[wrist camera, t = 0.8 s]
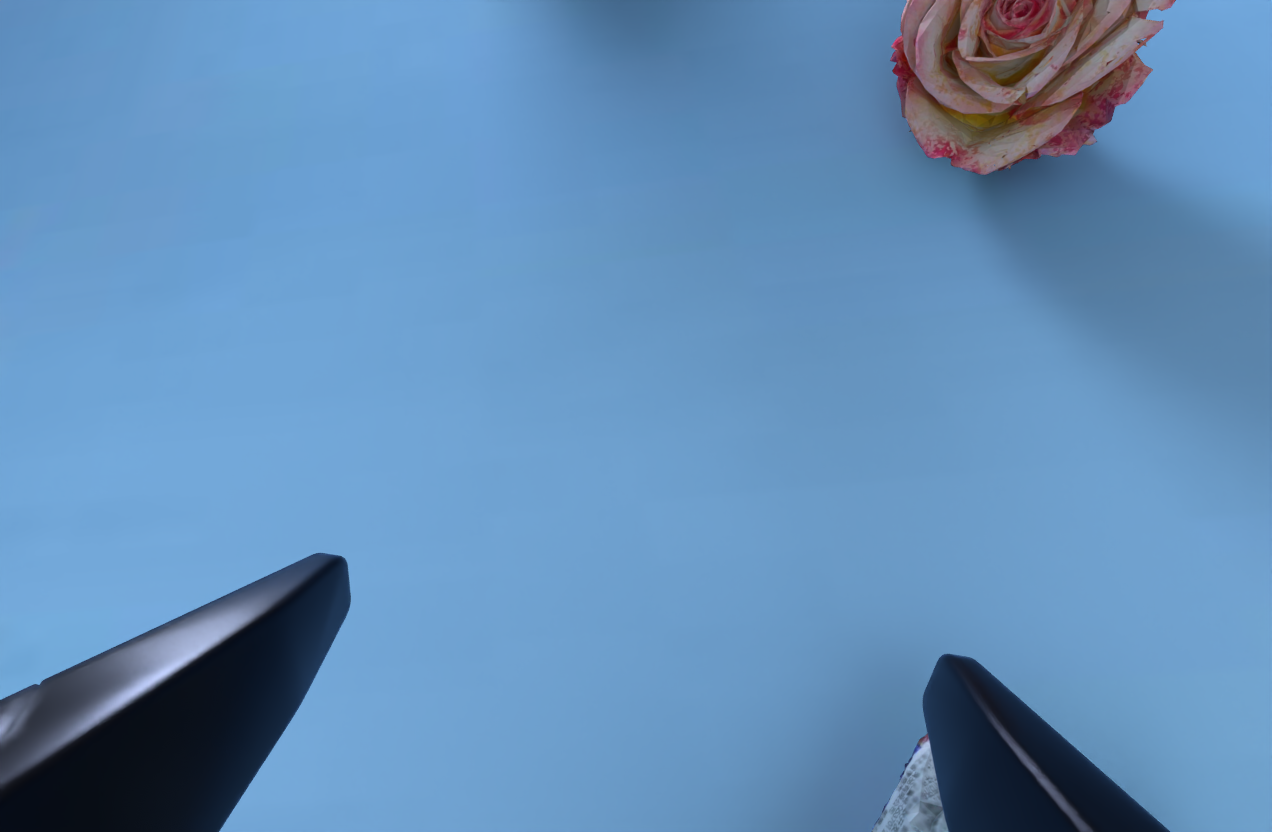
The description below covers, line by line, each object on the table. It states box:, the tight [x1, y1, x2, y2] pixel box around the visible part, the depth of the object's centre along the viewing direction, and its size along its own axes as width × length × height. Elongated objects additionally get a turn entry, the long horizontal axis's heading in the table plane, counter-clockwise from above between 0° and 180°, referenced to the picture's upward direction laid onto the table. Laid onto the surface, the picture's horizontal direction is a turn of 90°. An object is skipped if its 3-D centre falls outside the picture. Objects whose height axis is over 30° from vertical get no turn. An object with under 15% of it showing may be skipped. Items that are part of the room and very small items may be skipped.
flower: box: [890, 0, 1176, 175], centre depth 24 cm, size 10×9×8 cm
